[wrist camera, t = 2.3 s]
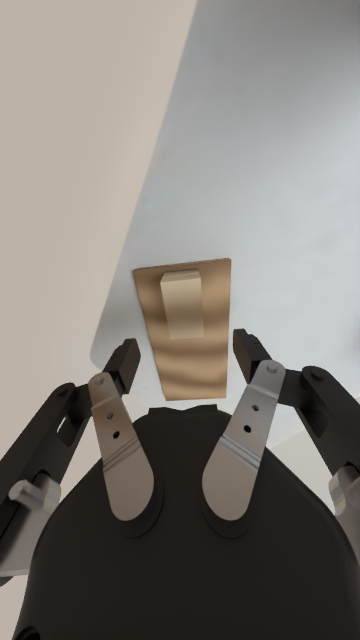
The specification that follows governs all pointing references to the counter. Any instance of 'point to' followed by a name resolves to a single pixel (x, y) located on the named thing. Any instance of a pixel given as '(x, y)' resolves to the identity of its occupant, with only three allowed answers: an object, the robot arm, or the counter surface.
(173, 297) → the block
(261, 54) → the counter surface
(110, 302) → the counter surface
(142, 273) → the board
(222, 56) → the counter surface
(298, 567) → the robot arm
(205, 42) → the counter surface
